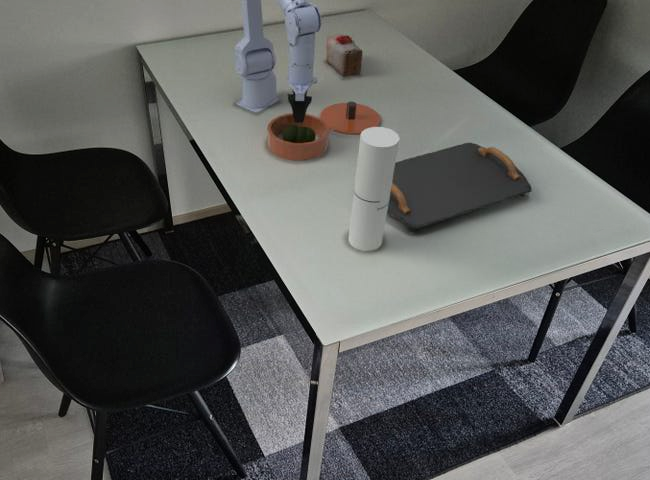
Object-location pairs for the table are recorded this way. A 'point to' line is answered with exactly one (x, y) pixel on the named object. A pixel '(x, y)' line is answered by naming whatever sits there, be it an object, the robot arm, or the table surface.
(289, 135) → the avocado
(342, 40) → the food item
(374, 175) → the cylindrical container
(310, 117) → the pot
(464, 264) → the table surface
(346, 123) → the lid
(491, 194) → the serving tray
